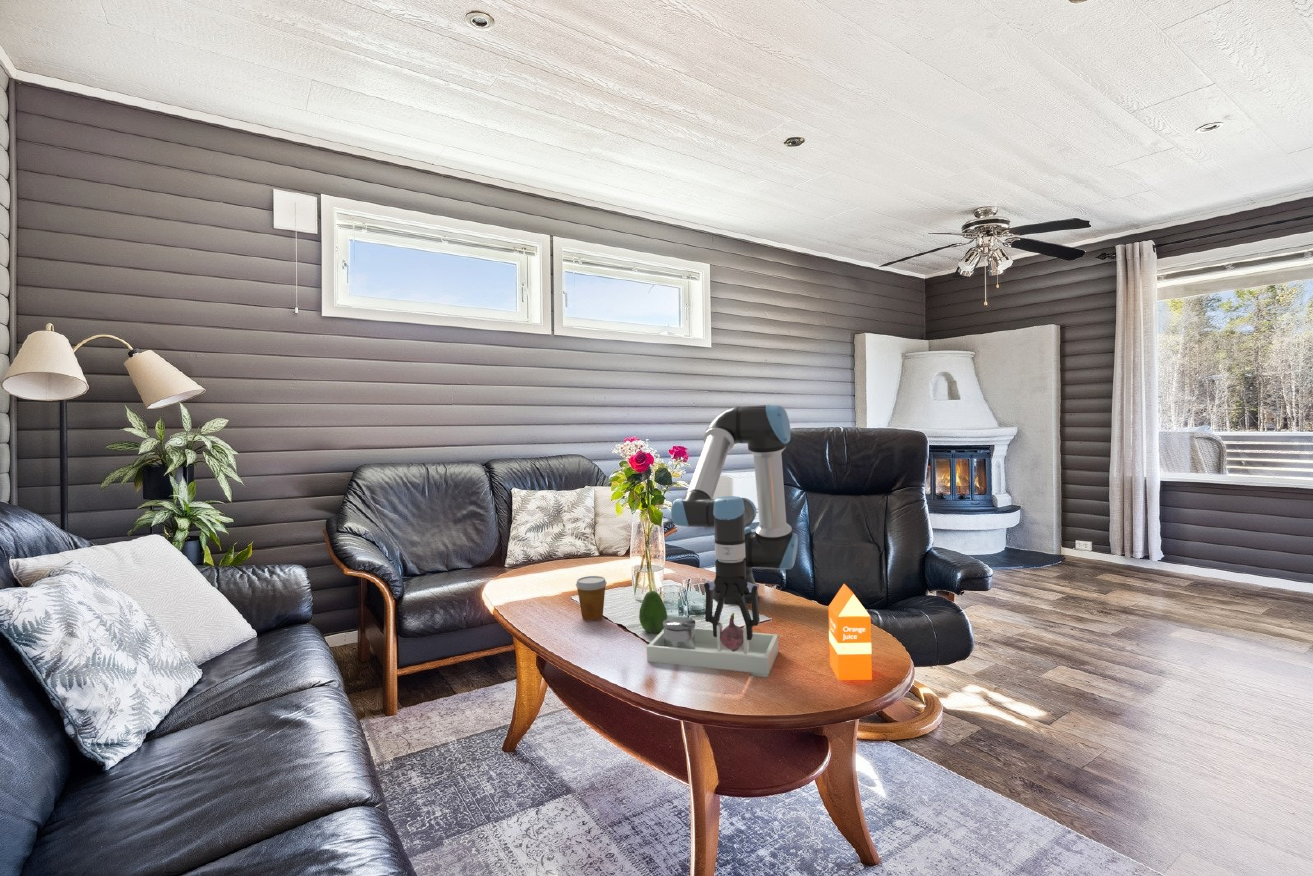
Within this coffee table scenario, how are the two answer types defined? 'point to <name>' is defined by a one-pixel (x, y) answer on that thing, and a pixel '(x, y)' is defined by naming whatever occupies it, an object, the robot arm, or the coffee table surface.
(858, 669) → the orange juice
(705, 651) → the grey tray
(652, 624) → the avocado
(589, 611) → the disposable coffee cup
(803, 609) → the coffee table surface
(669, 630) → the tin
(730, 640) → the vegetable
